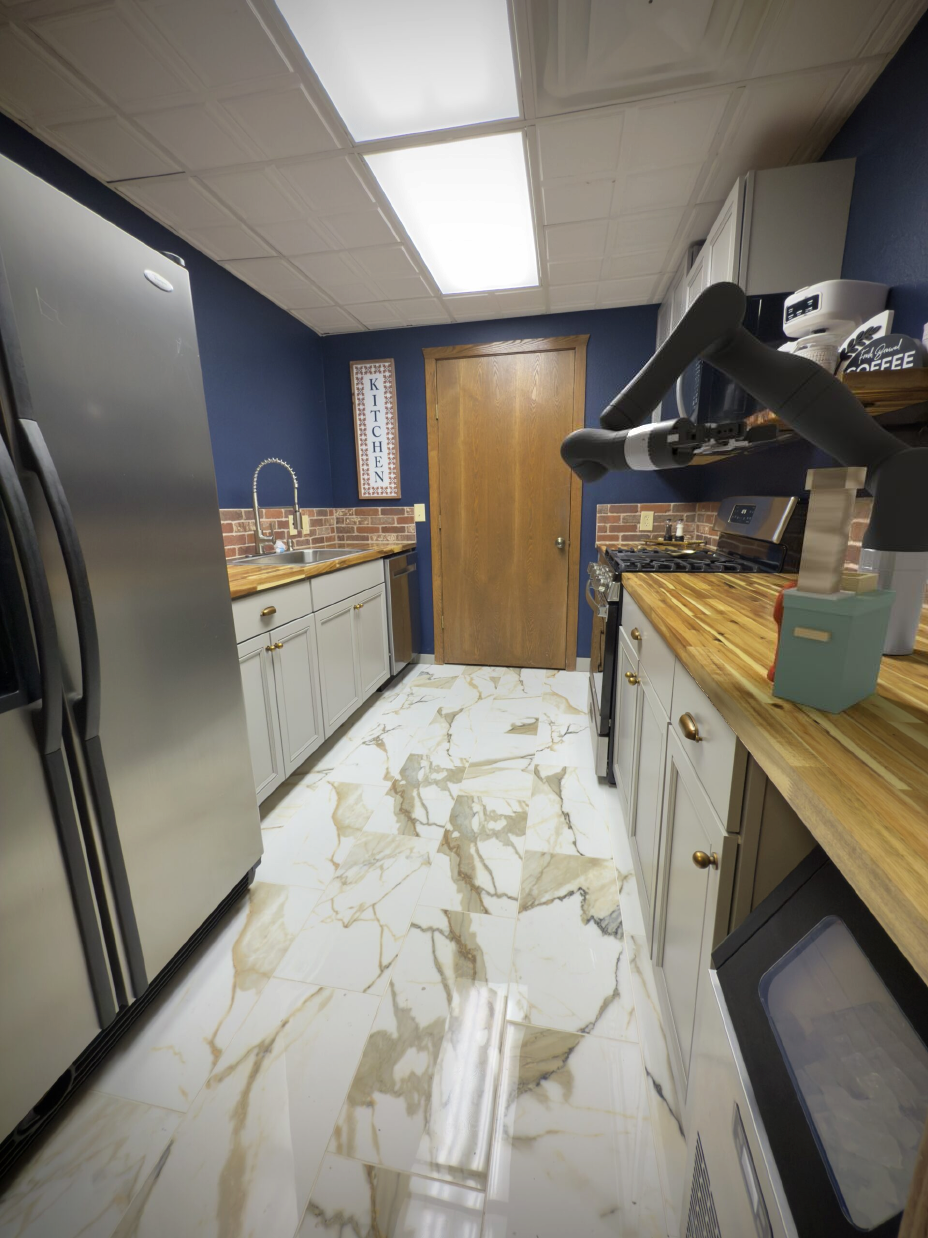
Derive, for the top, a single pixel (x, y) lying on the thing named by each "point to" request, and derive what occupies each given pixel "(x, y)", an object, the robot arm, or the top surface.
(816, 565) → the wooden key
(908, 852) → the top surface
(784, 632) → the tool chest
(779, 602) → the toy drill
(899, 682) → the top surface
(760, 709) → the top surface
